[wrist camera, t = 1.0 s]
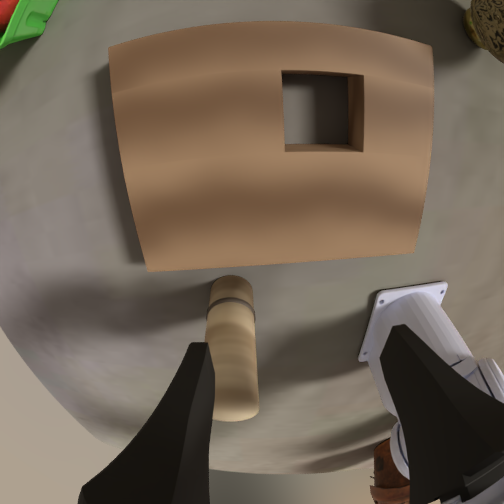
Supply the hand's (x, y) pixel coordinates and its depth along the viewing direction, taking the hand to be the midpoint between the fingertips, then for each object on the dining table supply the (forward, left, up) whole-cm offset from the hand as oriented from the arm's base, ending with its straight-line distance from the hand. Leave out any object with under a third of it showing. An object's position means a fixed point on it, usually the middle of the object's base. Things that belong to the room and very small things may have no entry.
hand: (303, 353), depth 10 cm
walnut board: (+6, 0, -10) cm, 12 cm away
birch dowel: (-5, +4, -10) cm, 12 cm away
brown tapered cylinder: (-54, -28, -11) cm, 62 cm away
